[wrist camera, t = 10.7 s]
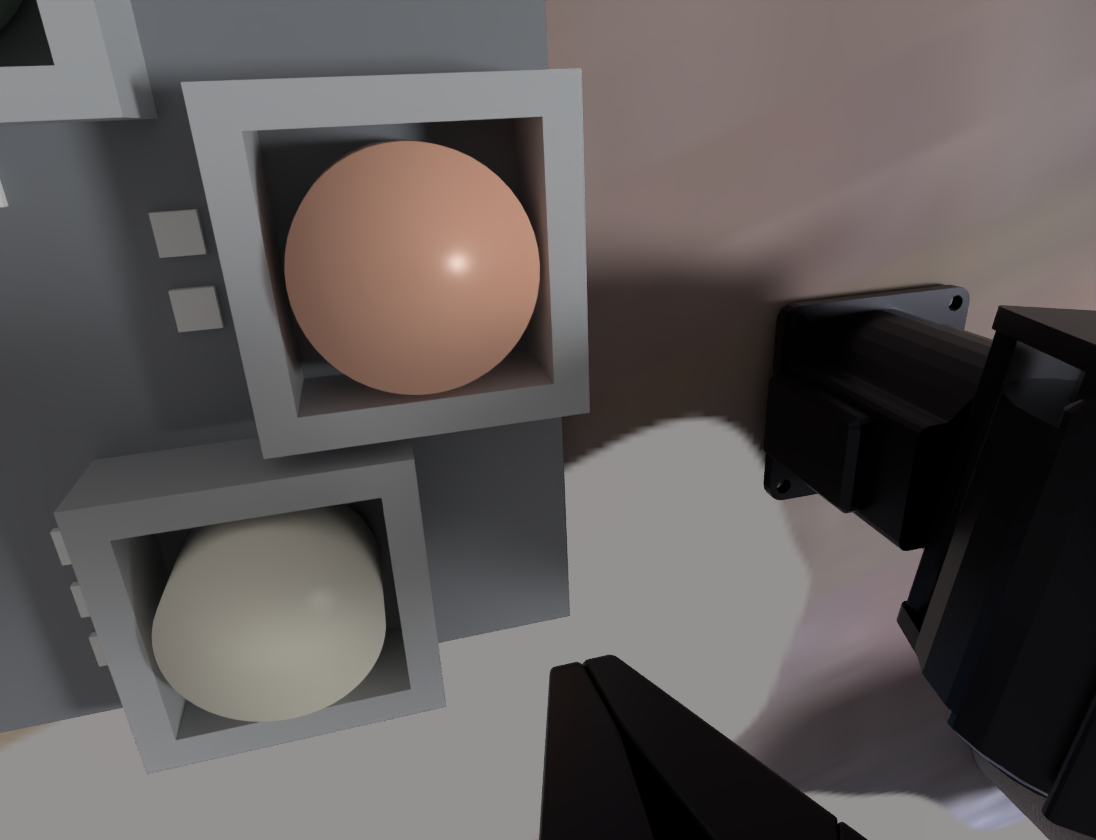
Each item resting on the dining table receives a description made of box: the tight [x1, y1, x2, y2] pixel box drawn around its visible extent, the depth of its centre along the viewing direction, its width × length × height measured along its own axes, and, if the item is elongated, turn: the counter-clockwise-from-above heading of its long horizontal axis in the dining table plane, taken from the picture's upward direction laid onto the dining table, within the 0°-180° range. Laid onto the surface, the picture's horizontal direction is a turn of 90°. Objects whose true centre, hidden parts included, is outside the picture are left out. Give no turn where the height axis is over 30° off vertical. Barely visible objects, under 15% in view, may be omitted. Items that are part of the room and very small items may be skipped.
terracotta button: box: [284, 139, 540, 395], centre depth 15 cm, size 5×5×2 cm
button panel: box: [0, 0, 590, 774], centre depth 15 cm, size 15×21×4 cm
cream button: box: [152, 504, 386, 722], centre depth 17 cm, size 5×5×2 cm
